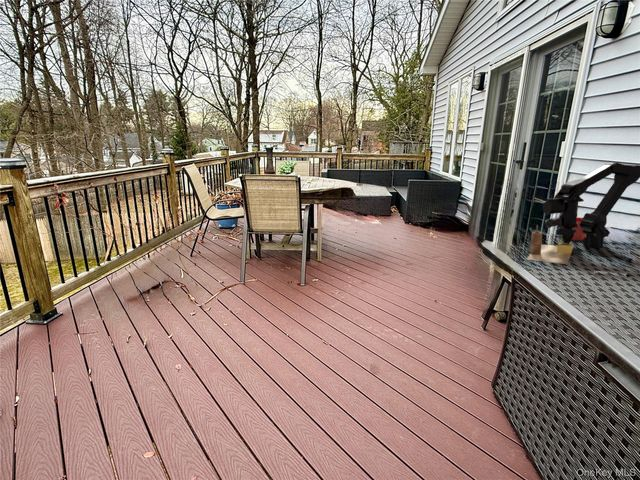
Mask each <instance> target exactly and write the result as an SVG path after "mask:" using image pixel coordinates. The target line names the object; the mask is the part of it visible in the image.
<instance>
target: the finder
mask: <svg viewBox="0 0 640 480" xmlns="http://www.w3.org/2000/svg"><path fill="white" fill-rule="evenodd" d="M573 245H574V244H573V243H571V242H570V243H564V242H558V243H557V245H556V246H557V253H567V254H571V255H572V252H573V250H572V247H573Z"/></svg>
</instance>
